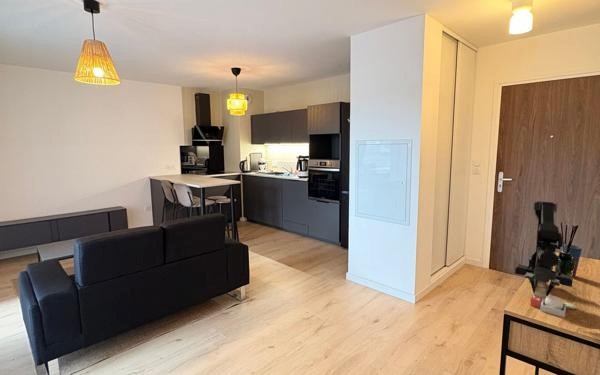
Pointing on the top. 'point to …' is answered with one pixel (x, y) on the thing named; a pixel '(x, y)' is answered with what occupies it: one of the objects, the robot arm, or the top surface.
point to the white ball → (554, 302)
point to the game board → (556, 311)
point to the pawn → (541, 289)
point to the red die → (535, 301)
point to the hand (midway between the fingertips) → (540, 294)
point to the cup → (574, 255)
